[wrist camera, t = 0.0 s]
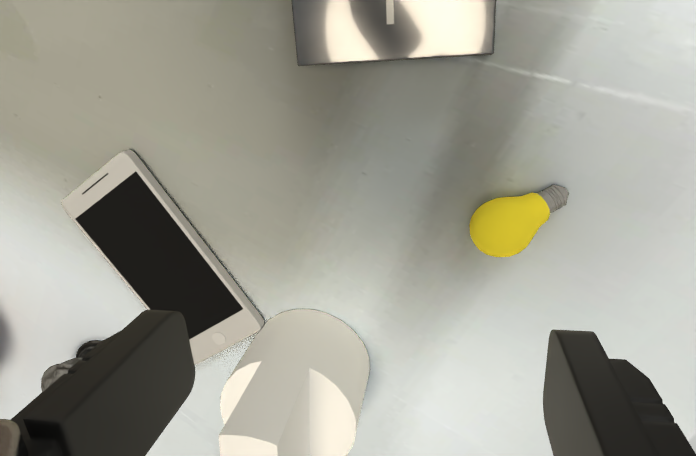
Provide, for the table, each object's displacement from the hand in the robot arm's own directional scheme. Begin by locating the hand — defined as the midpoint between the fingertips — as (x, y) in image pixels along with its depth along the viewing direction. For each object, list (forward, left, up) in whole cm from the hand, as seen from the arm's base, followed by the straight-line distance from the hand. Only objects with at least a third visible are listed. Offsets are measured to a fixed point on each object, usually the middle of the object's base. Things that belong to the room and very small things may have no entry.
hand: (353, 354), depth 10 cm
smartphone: (+7, -18, -20) cm, 28 cm away
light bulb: (+3, +6, -20) cm, 21 cm away
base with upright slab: (+15, -8, -20) cm, 27 cm away
